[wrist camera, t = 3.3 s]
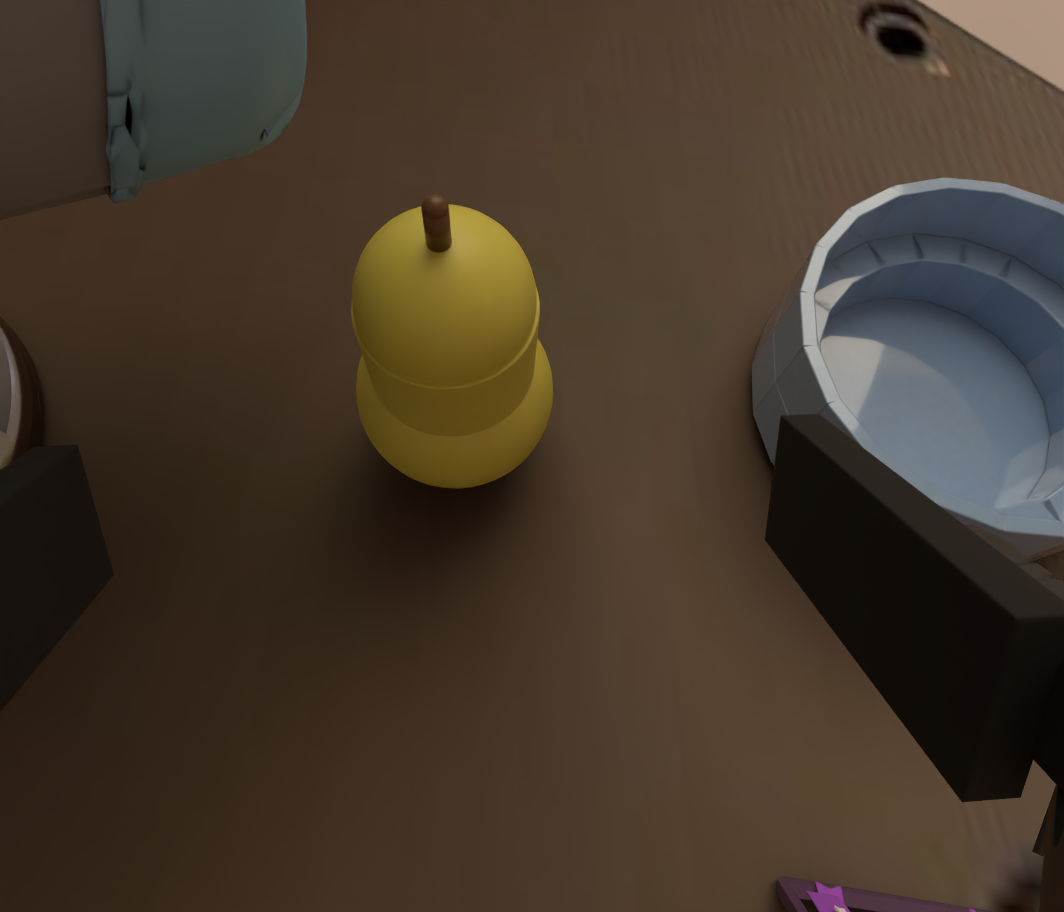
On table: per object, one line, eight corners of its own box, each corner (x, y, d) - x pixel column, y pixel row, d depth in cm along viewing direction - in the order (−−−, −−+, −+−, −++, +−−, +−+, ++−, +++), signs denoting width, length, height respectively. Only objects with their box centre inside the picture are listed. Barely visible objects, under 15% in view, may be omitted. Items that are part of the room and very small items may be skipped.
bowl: (680, 423, 28) (721, 349, 23) (857, 221, 32) (926, 120, 27) (983, 656, 25) (1108, 631, 20) (1135, 403, 29) (1272, 328, 24)
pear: (337, 438, 27) (218, 203, 15) (456, 328, 29) (430, 48, 17) (464, 551, 25) (438, 386, 14) (581, 427, 27) (641, 194, 16)
